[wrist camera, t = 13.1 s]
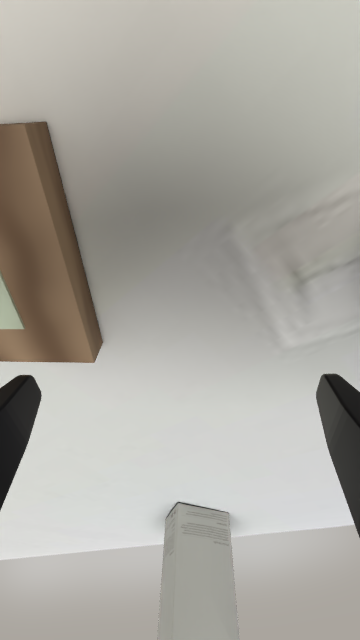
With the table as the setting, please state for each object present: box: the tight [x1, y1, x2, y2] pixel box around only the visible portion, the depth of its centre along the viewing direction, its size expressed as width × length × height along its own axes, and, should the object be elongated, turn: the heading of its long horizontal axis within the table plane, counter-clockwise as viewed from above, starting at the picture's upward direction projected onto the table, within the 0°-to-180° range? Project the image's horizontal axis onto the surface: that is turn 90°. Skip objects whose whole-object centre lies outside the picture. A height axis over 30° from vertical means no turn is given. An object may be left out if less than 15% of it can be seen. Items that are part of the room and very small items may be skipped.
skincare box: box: [157, 503, 239, 640], centre depth 39 cm, size 8×7×16 cm
